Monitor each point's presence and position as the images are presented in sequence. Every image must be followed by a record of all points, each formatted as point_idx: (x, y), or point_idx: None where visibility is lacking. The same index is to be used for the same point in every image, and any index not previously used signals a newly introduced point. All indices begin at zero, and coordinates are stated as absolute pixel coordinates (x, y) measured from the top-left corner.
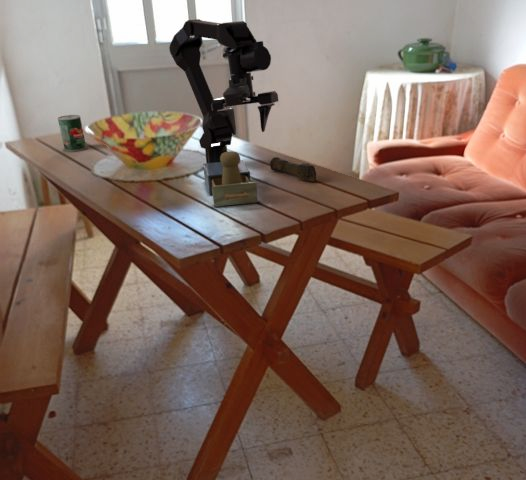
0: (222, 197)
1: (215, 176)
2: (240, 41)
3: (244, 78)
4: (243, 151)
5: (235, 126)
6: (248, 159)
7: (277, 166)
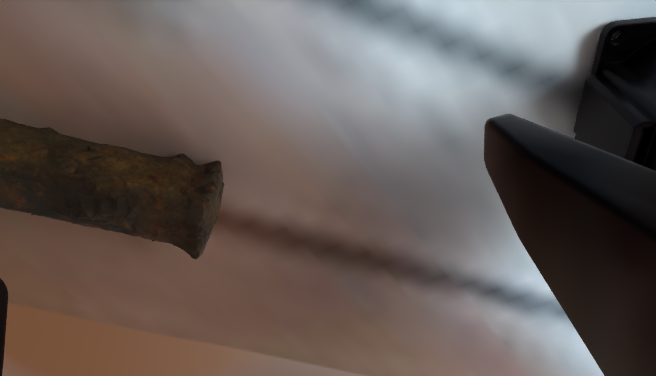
0: None
1: None
2: None
3: None
4: None
5: (540, 266)
6: (504, 276)
7: (142, 165)
